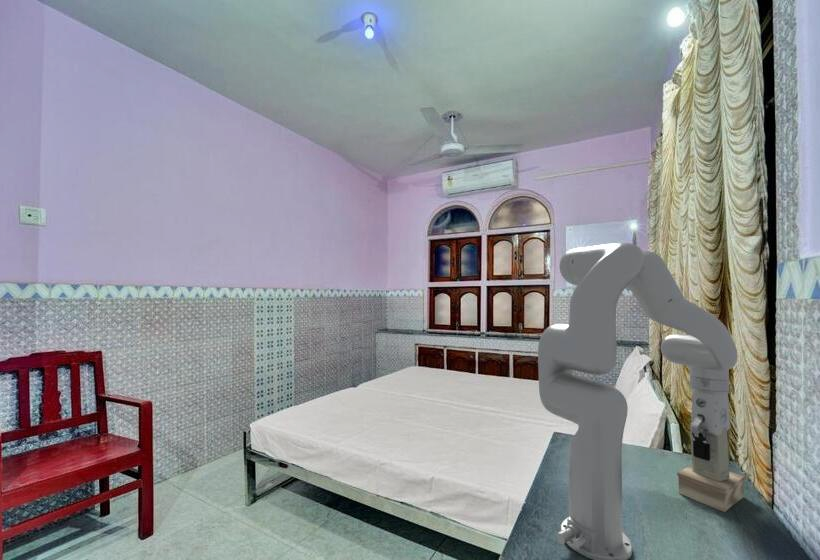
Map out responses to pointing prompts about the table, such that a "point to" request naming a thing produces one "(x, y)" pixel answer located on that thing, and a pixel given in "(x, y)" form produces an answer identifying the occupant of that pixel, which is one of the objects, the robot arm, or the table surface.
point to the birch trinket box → (711, 488)
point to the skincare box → (713, 457)
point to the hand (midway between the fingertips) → (710, 454)
